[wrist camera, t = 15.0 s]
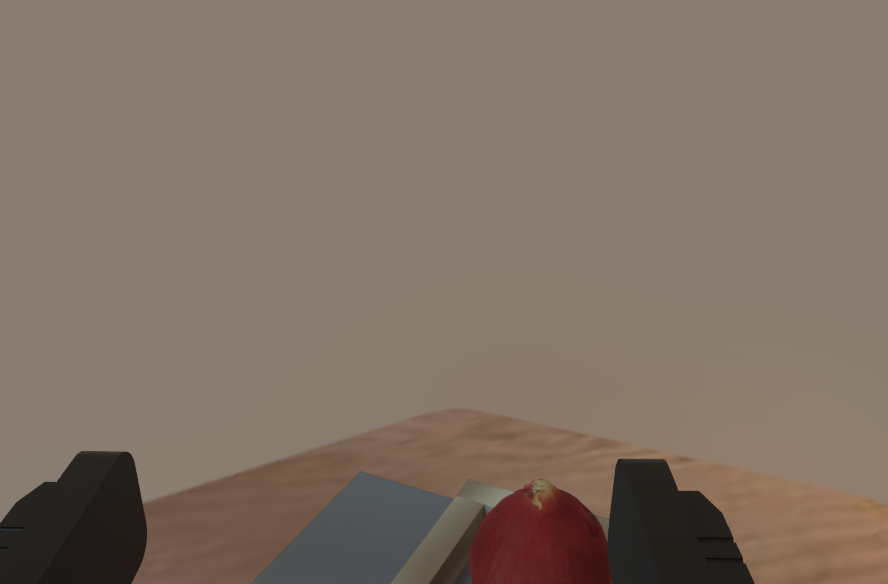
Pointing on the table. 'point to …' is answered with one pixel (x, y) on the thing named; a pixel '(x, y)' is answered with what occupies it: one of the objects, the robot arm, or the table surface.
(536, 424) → the table surface
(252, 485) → the table surface
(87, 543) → the robot arm
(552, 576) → the onion
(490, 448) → the table surface
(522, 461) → the table surface
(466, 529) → the square frame
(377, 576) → the build board
